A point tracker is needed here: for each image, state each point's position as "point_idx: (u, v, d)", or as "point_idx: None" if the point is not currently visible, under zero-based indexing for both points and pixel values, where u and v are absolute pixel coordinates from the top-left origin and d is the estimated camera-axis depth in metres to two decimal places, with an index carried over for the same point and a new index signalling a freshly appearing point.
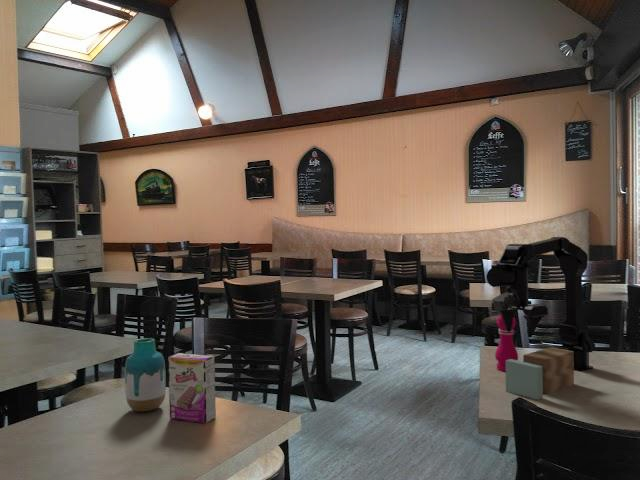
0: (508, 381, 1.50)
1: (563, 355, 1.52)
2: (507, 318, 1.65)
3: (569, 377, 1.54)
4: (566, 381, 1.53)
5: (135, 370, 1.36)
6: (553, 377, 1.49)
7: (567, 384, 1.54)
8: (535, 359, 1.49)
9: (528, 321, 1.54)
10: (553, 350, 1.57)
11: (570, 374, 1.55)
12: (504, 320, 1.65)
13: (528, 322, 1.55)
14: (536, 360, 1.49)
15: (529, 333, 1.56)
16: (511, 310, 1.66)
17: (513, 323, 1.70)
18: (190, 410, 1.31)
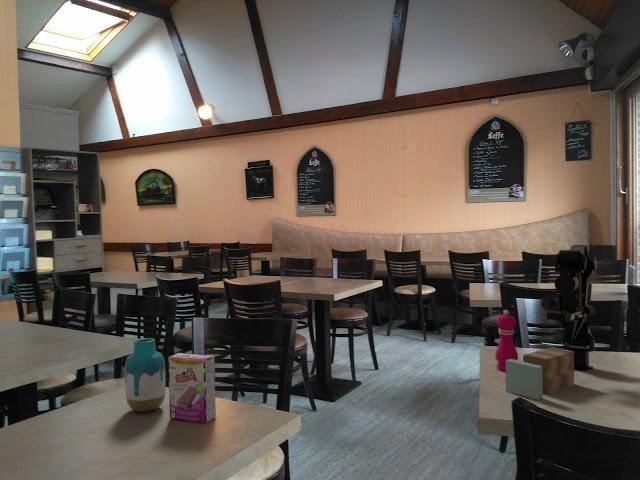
0: (508, 381, 1.50)
1: (563, 355, 1.52)
2: None
3: (569, 377, 1.54)
4: (566, 381, 1.53)
5: (135, 370, 1.36)
6: (553, 377, 1.49)
7: (567, 384, 1.54)
8: (535, 359, 1.49)
9: None
10: (553, 350, 1.57)
11: (570, 374, 1.54)
12: None
13: None
14: (535, 360, 1.49)
15: (567, 336, 1.61)
16: (578, 319, 1.60)
17: (513, 323, 1.70)
18: (190, 410, 1.31)
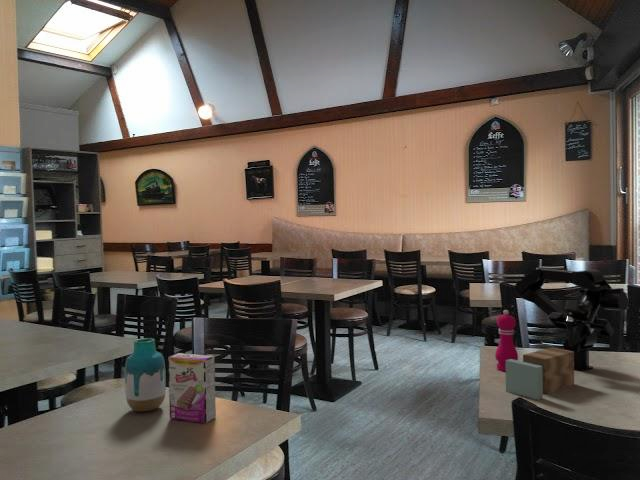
0: (508, 381, 1.50)
1: (563, 355, 1.52)
2: (573, 333, 1.63)
3: (569, 377, 1.54)
4: (567, 381, 1.53)
5: (135, 370, 1.36)
6: (553, 377, 1.49)
7: (567, 384, 1.54)
8: (535, 358, 1.49)
9: (578, 330, 1.61)
10: (553, 350, 1.57)
11: (570, 374, 1.54)
12: (570, 333, 1.63)
13: (578, 331, 1.61)
14: (535, 360, 1.49)
15: (572, 341, 1.61)
16: None
17: (513, 323, 1.70)
18: (190, 410, 1.31)
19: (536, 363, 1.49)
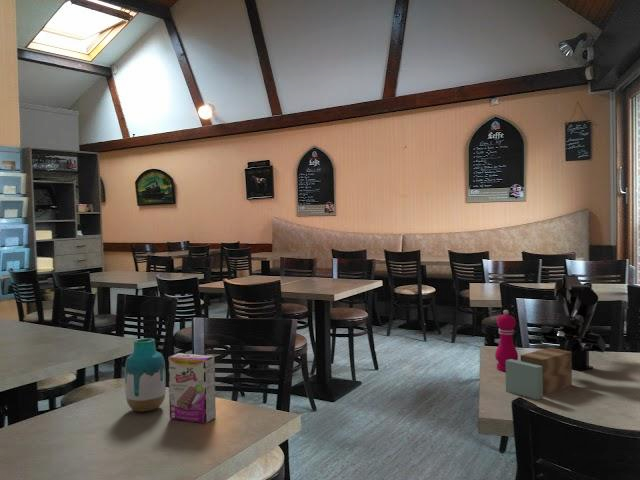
0: (508, 381, 1.50)
1: (561, 355, 1.51)
2: (565, 348, 1.59)
3: (566, 377, 1.53)
4: (564, 382, 1.53)
5: (135, 370, 1.36)
6: (551, 378, 1.49)
7: (565, 385, 1.53)
8: (532, 359, 1.49)
9: (570, 345, 1.58)
10: (551, 350, 1.56)
11: (568, 375, 1.54)
12: (562, 348, 1.59)
13: (569, 346, 1.58)
14: (533, 360, 1.49)
15: None
16: None
17: (513, 323, 1.70)
18: (190, 410, 1.31)
19: (534, 363, 1.48)
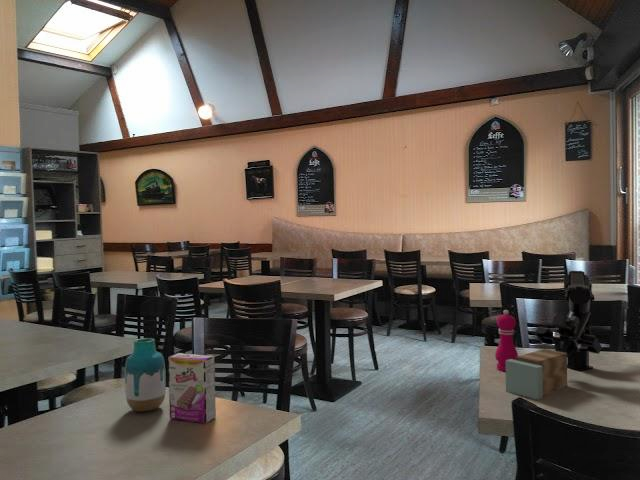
0: (508, 381, 1.50)
1: (556, 357, 1.50)
2: (560, 350, 1.58)
3: (562, 379, 1.52)
4: (560, 383, 1.51)
5: (135, 370, 1.36)
6: (546, 379, 1.47)
7: (560, 386, 1.52)
8: (528, 360, 1.47)
9: (565, 346, 1.57)
10: (546, 352, 1.55)
11: (563, 376, 1.53)
12: (557, 349, 1.58)
13: (565, 347, 1.57)
14: (528, 362, 1.47)
15: None
16: None
17: (513, 323, 1.70)
18: (190, 410, 1.31)
19: None
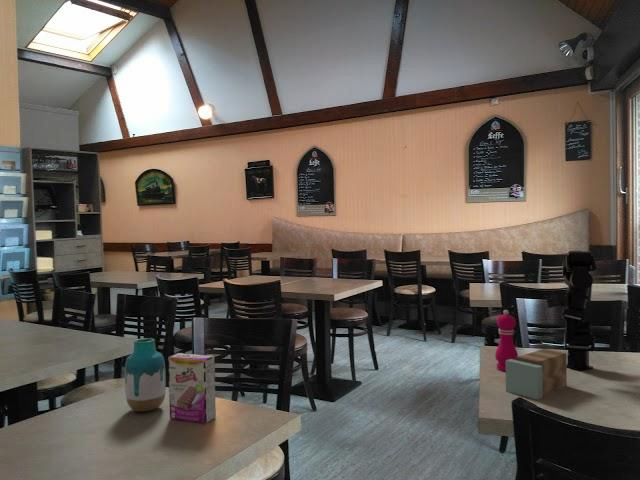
0: (508, 381, 1.50)
1: (556, 357, 1.50)
2: None
3: (561, 379, 1.52)
4: (559, 383, 1.52)
5: (135, 370, 1.36)
6: (546, 379, 1.47)
7: (560, 386, 1.52)
8: (528, 361, 1.47)
9: (566, 322, 1.61)
10: (546, 352, 1.55)
11: (563, 376, 1.53)
12: None
13: (566, 323, 1.61)
14: (528, 362, 1.47)
15: (566, 335, 1.61)
16: None
17: (513, 323, 1.70)
18: (190, 410, 1.31)
19: None
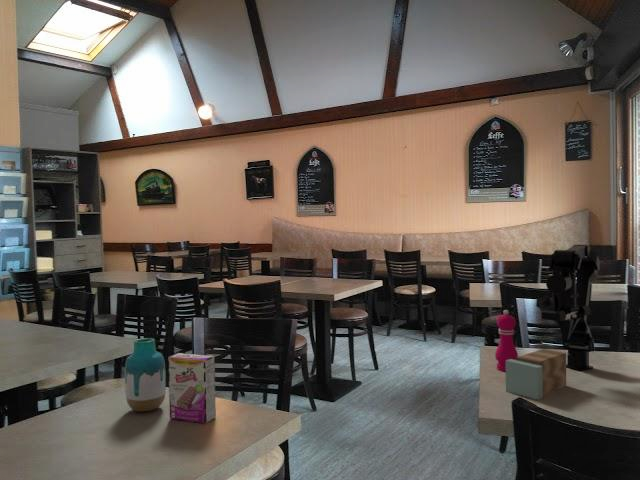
0: (508, 381, 1.50)
1: (556, 357, 1.50)
2: None
3: (561, 379, 1.52)
4: (559, 383, 1.52)
5: (135, 370, 1.36)
6: (546, 379, 1.47)
7: (560, 386, 1.52)
8: (529, 361, 1.47)
9: None
10: (545, 352, 1.55)
11: (563, 376, 1.53)
12: None
13: None
14: (529, 362, 1.47)
15: (563, 335, 1.62)
16: (572, 319, 1.60)
17: (513, 323, 1.70)
18: (190, 410, 1.31)
19: None
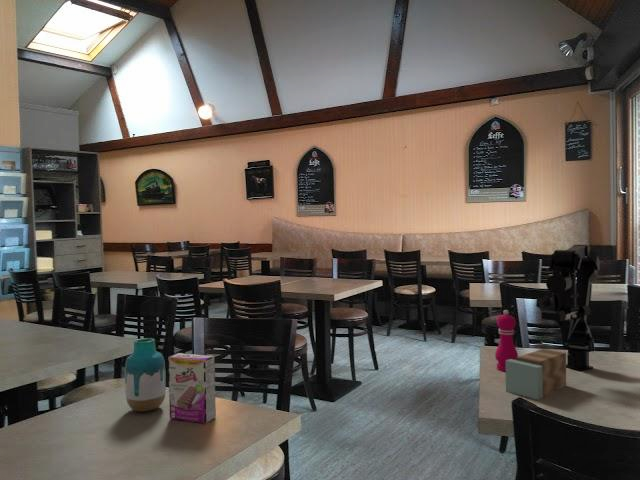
0: (508, 381, 1.50)
1: (556, 357, 1.50)
2: None
3: (561, 379, 1.52)
4: (559, 383, 1.52)
5: (135, 370, 1.36)
6: (547, 379, 1.47)
7: (560, 386, 1.52)
8: (529, 361, 1.47)
9: None
10: (545, 352, 1.55)
11: (562, 376, 1.53)
12: None
13: None
14: (529, 362, 1.47)
15: (563, 335, 1.62)
16: (572, 319, 1.60)
17: (513, 323, 1.70)
18: (190, 410, 1.31)
19: None
